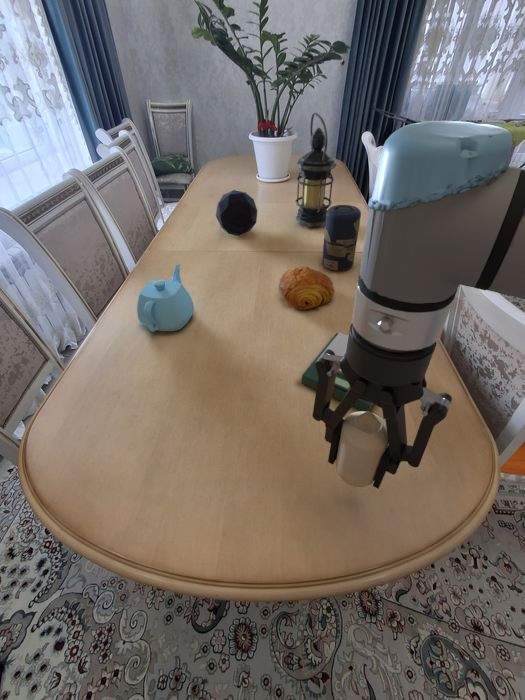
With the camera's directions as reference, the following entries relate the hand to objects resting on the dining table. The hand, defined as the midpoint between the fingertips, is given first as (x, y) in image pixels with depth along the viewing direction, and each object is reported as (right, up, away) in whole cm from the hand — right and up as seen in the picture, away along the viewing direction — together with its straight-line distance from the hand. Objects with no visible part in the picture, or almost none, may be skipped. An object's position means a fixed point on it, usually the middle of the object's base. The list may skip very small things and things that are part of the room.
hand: (356, 466), depth 46 cm
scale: (+6, +11, +26) cm, 29 cm away
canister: (+10, +41, +61) cm, 74 cm away
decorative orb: (-21, +58, +81) cm, 102 cm away
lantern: (+6, +63, +85) cm, 106 cm away
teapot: (-36, +24, +42) cm, 60 cm away
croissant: (-1, +30, +48) cm, 57 cm away
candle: (0, 0, 0) cm, 1 cm away
